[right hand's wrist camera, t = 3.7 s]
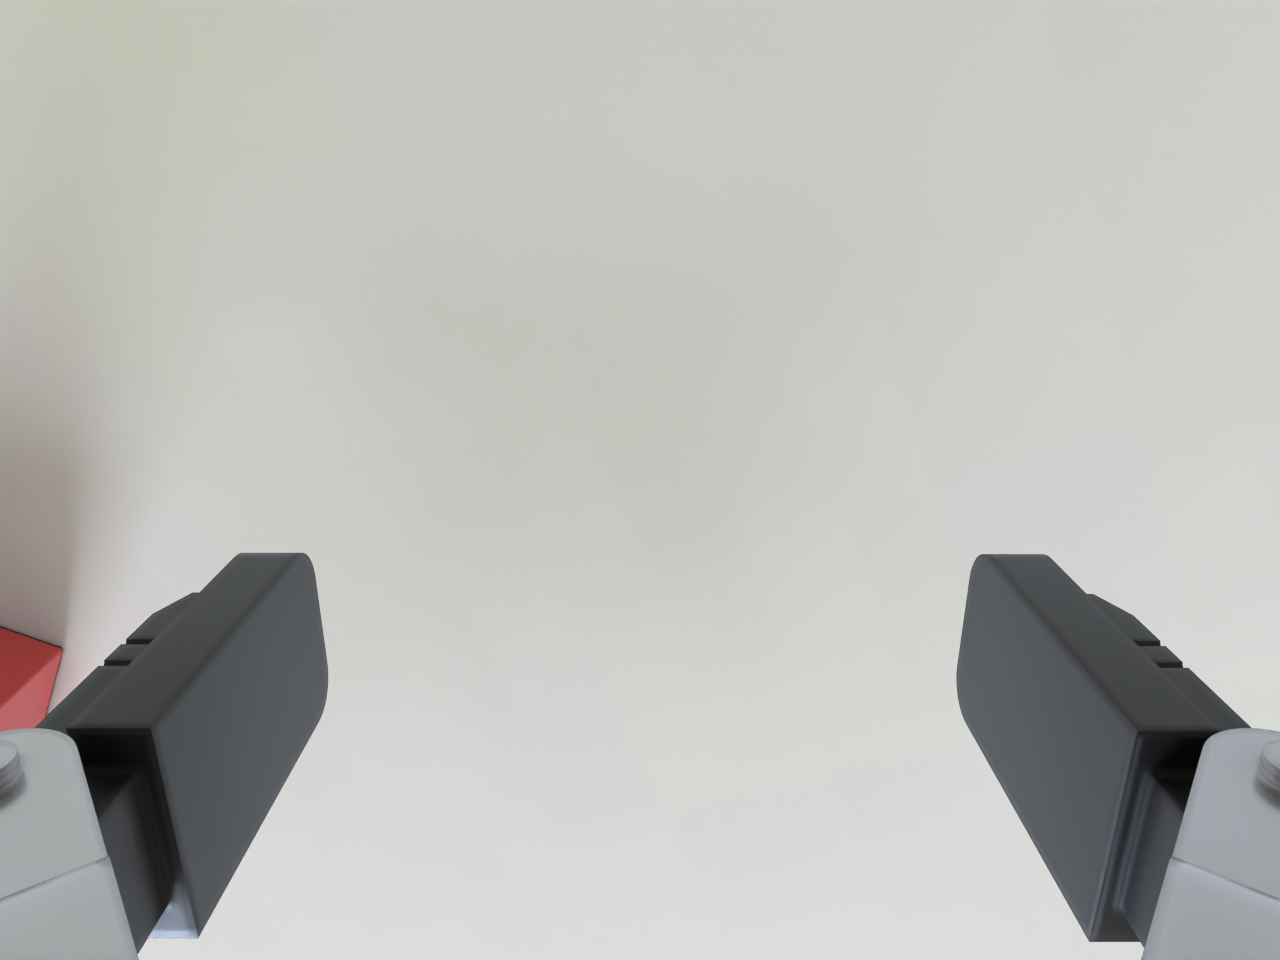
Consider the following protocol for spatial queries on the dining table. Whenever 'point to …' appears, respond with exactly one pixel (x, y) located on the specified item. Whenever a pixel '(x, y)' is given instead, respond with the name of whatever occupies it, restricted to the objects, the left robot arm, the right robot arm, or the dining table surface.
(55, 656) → the block
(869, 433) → the dining table surface
